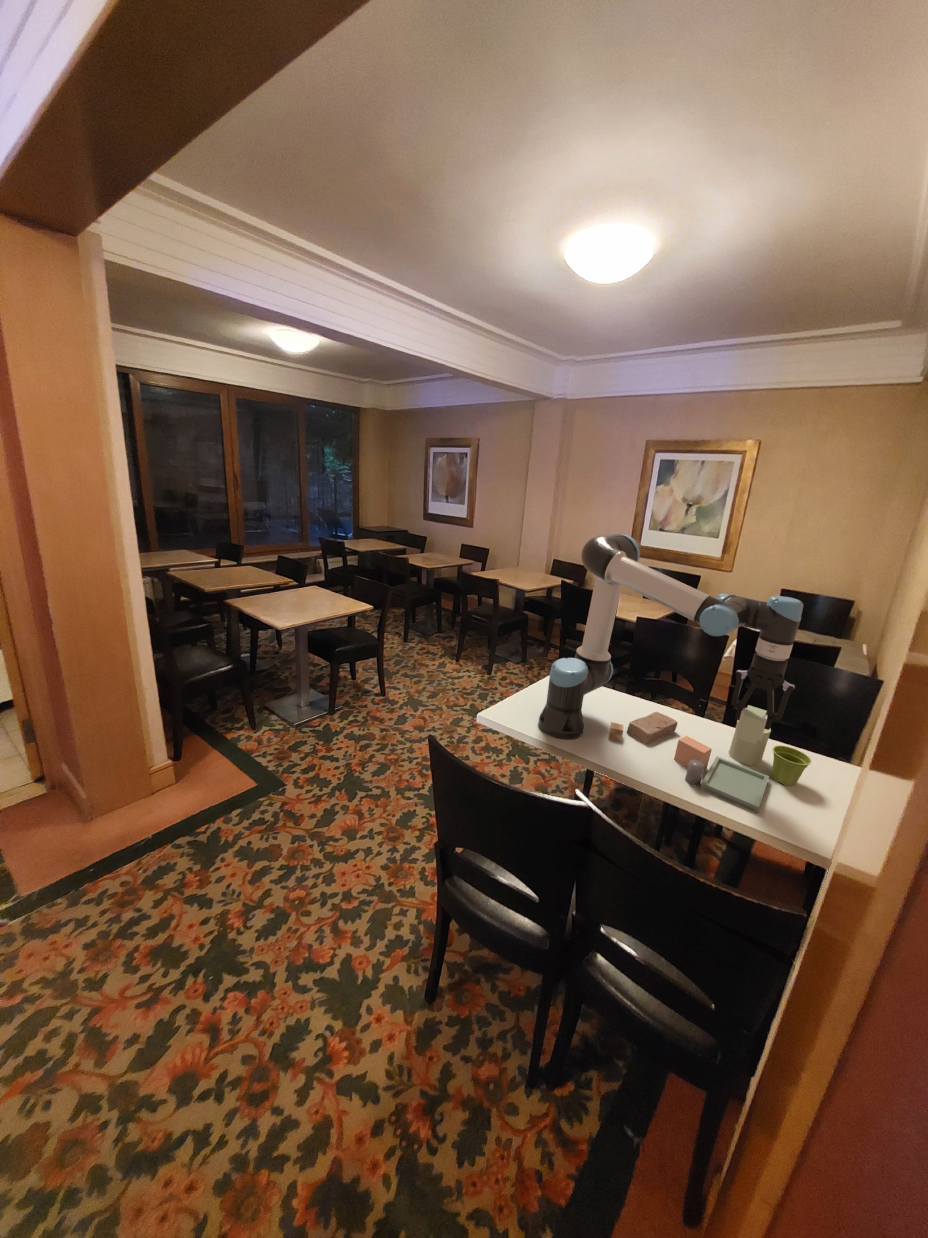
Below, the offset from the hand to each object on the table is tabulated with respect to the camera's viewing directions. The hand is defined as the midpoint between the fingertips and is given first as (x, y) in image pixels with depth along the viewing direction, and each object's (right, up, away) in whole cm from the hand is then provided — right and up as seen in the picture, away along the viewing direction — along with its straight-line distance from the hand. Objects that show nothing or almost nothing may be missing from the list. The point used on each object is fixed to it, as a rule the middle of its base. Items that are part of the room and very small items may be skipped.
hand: (749, 734), depth 127 cm
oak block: (-28, -7, +26) cm, 39 cm away
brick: (-15, -7, +31) cm, 35 cm away
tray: (-1, -16, +5) cm, 17 cm away
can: (+11, -12, +20) cm, 26 cm away
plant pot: (+16, -16, +9) cm, 24 cm away
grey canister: (-13, -15, +6) cm, 20 cm away
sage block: (0, 0, 0) cm, 0 cm away
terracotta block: (-9, -13, +14) cm, 21 cm away
